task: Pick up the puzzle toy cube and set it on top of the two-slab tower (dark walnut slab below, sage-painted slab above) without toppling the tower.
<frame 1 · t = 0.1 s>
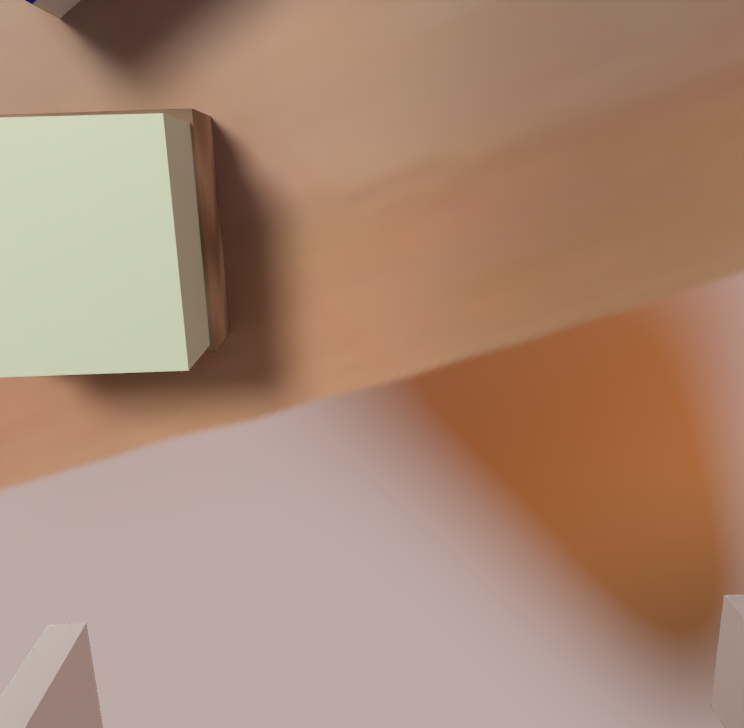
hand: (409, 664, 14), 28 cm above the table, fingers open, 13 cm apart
top slab: (89, 241, 35), point 5 cm above the table, touching bottom slab
bottom slab: (115, 232, 40), on the table, touching top slab
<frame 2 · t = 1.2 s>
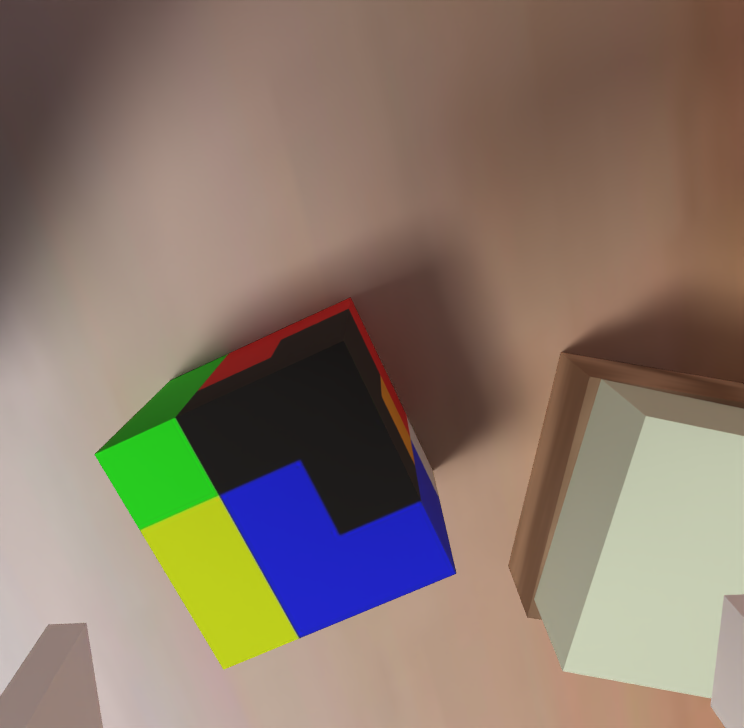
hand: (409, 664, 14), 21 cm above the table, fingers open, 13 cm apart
top slab: (682, 516, 32), point 5 cm above the table
puzzle toy: (304, 424, 36), on the table
bottom slab: (643, 478, 37), on the table
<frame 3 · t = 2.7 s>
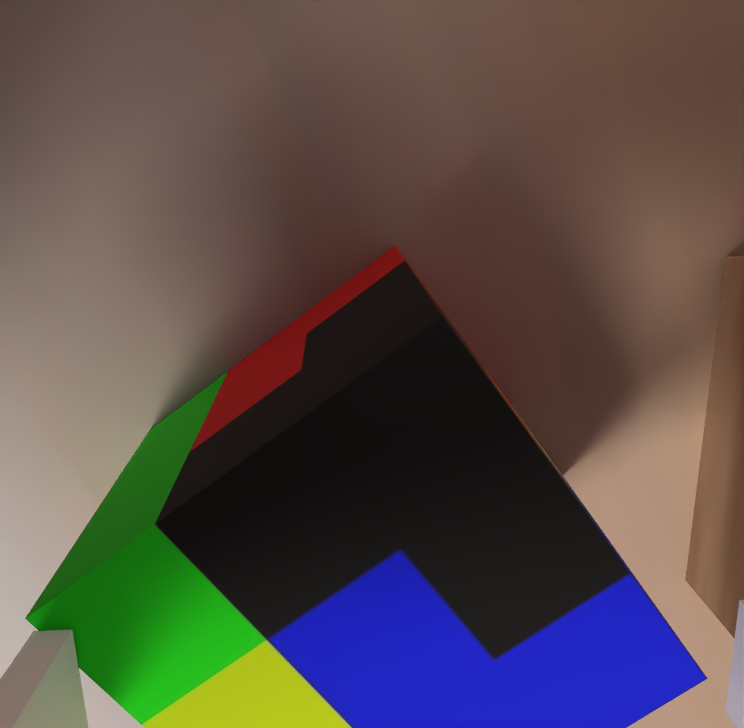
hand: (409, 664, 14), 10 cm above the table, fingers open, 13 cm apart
puzzle toy: (362, 448, 24), on the table, touching gripper
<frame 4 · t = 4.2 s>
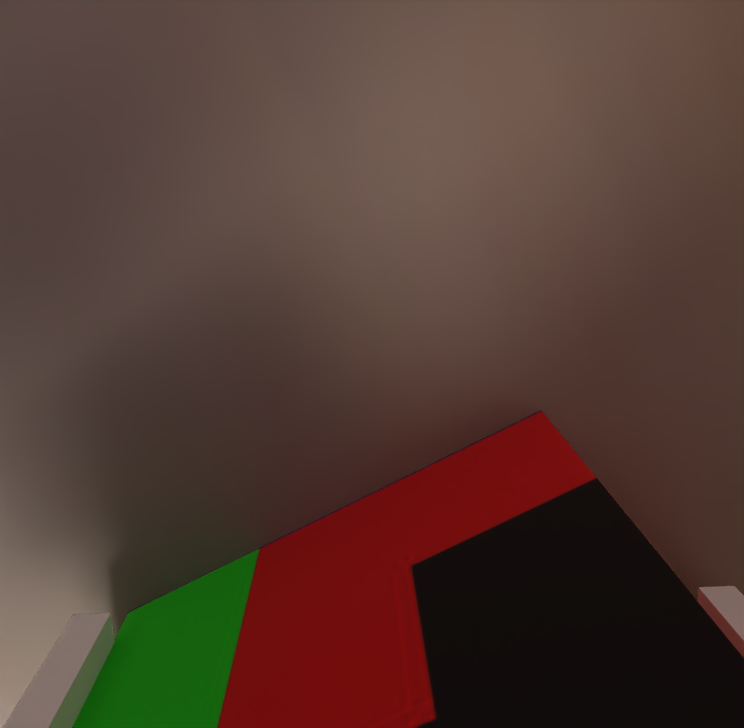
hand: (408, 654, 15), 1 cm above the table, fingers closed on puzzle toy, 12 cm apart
puzzle toy: (429, 681, 16), on the table, touching gripper
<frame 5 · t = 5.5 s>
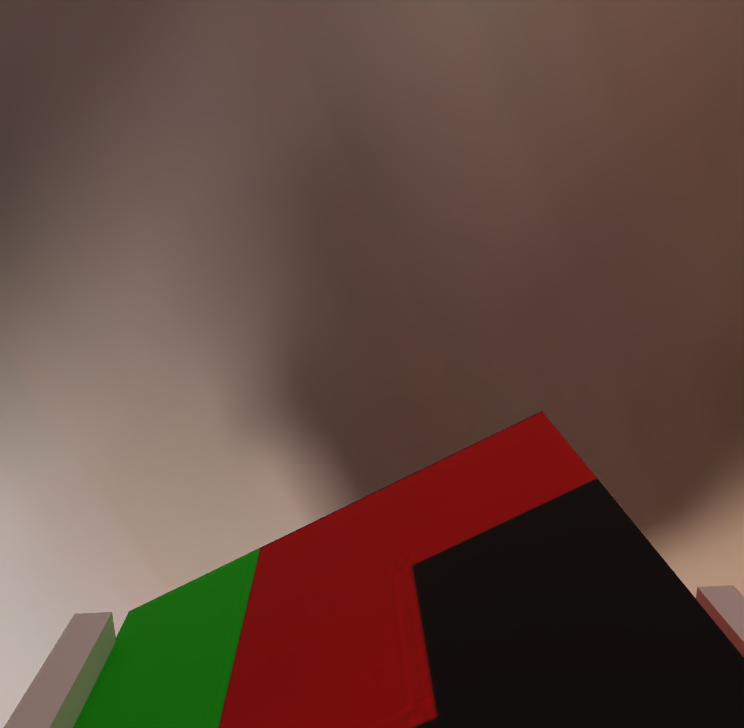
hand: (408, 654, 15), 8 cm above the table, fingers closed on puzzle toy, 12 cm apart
puzzle toy: (429, 680, 16), point 7 cm above the table, touching gripper
when the fingers open (12 cm above the table, at t = 10.5 s): puzzle toy drops 2 cm, resting on top slab.
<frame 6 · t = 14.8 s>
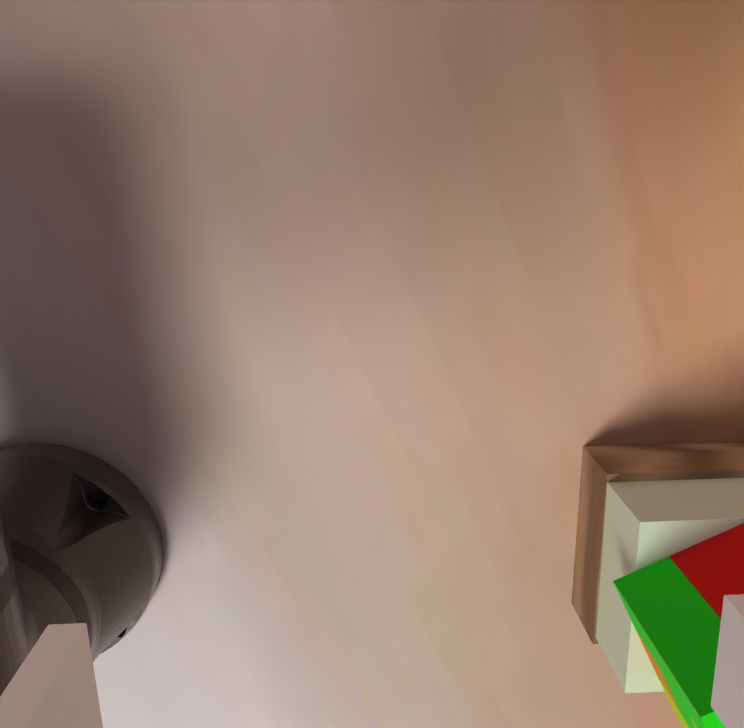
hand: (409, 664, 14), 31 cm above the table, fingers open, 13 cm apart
top slab: (687, 559, 44), point 4 cm above the table, touching bottom slab, puzzle toy
puzzle toy: (725, 611, 39), point 9 cm above the table, touching top slab
bottom slab: (659, 521, 49), on the table, touching top slab
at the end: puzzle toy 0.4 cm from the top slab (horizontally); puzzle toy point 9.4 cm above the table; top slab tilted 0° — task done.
